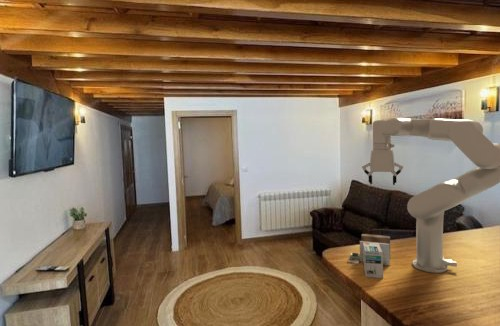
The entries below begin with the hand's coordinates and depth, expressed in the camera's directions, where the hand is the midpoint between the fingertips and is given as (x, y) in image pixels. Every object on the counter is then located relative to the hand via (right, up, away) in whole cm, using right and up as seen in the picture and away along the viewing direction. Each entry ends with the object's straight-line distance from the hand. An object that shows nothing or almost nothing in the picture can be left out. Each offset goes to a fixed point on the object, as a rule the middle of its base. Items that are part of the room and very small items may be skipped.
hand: (382, 184), depth 139 cm
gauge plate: (-8, -34, -6) cm, 35 cm away
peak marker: (-12, -34, +2) cm, 36 cm away
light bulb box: (-10, -35, -15) cm, 40 cm away
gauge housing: (-7, -34, -3) cm, 35 cm away
